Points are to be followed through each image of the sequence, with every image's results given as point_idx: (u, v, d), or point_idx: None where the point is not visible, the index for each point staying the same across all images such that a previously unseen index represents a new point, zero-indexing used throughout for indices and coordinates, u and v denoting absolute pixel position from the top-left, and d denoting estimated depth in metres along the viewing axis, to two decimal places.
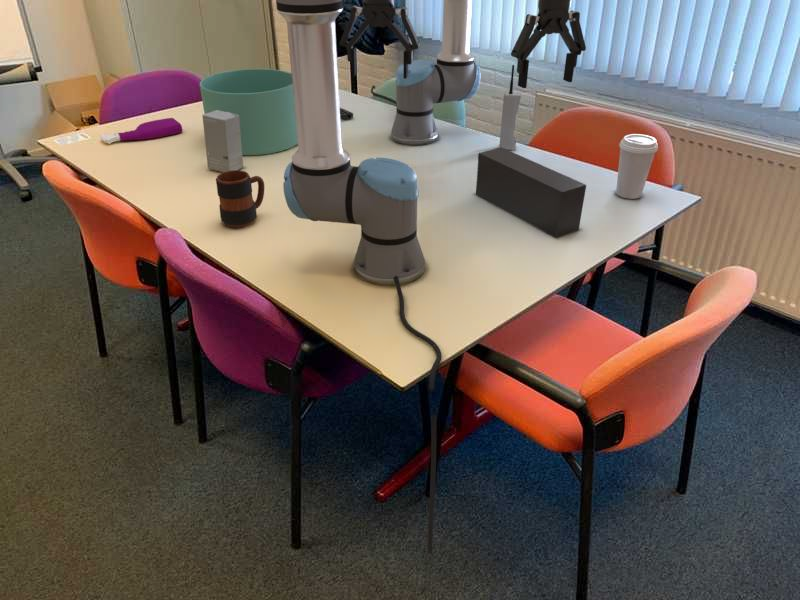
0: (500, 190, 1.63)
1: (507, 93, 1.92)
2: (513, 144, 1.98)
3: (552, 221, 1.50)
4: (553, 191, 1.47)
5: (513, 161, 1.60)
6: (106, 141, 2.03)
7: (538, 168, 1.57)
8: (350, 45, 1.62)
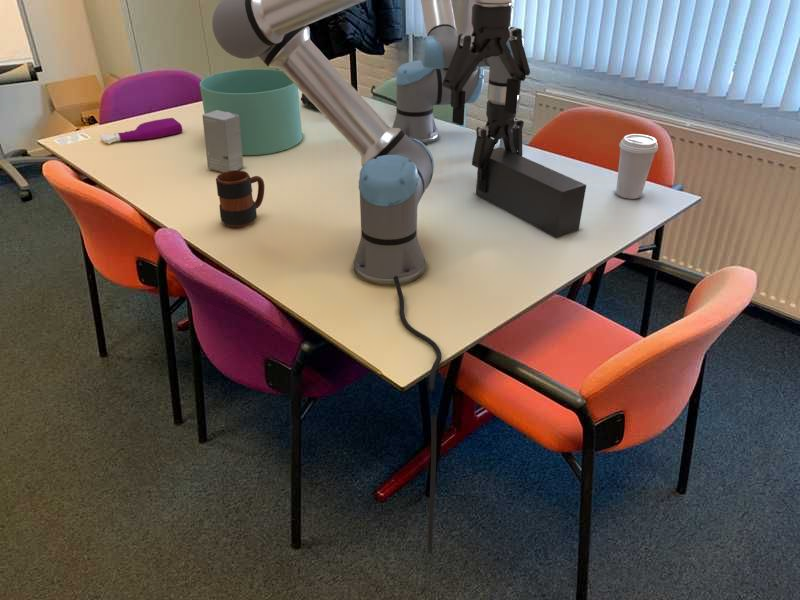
0: (500, 190, 1.63)
1: None
2: None
3: (552, 221, 1.50)
4: (553, 191, 1.47)
5: (513, 161, 1.60)
6: (106, 141, 2.03)
7: (538, 167, 1.57)
8: (461, 86, 1.22)
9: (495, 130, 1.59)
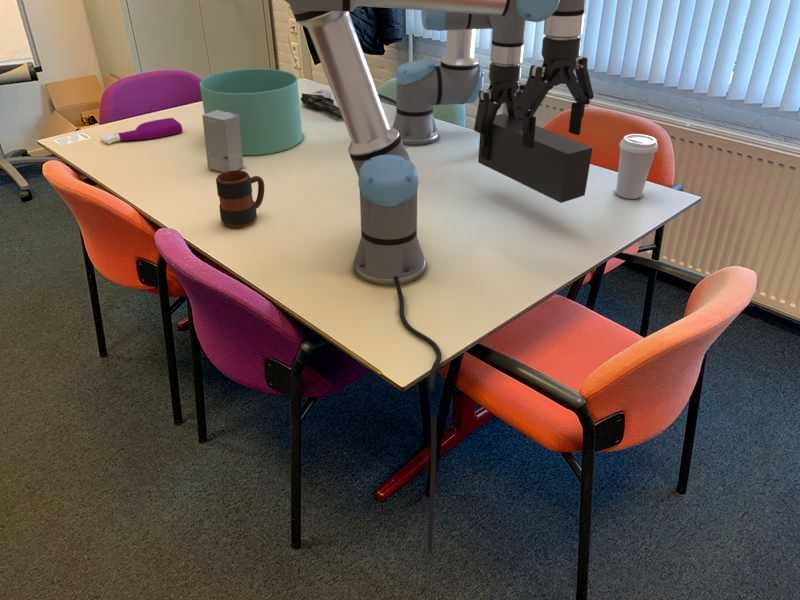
0: (504, 157, 1.58)
1: None
2: None
3: (557, 186, 1.45)
4: (559, 154, 1.42)
5: (517, 126, 1.55)
6: (106, 141, 2.03)
7: (543, 132, 1.52)
8: (533, 113, 1.32)
9: (498, 93, 1.54)
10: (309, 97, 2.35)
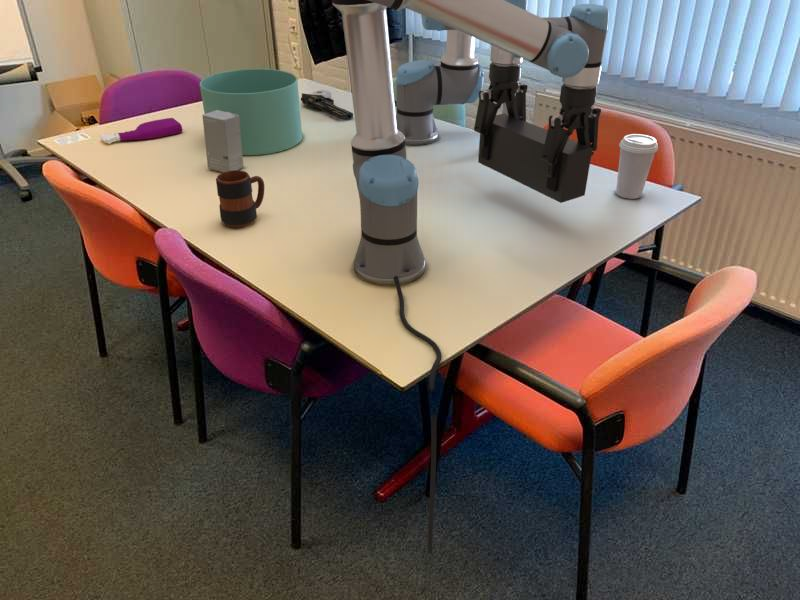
0: (504, 157, 1.58)
1: None
2: None
3: None
4: None
5: (517, 126, 1.55)
6: (106, 141, 2.03)
7: (543, 132, 1.52)
8: (558, 159, 1.42)
9: (498, 93, 1.54)
10: (309, 97, 2.35)
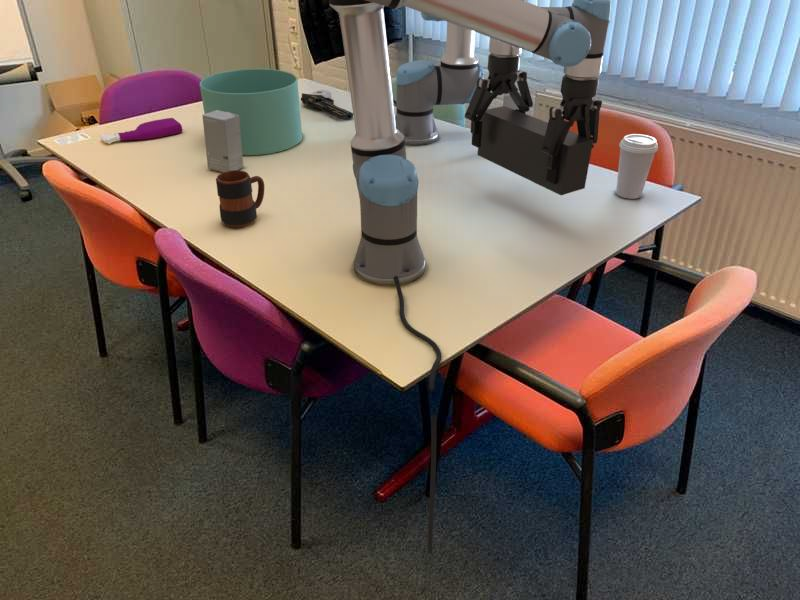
0: (503, 149, 1.57)
1: None
2: None
3: None
4: None
5: (517, 118, 1.54)
6: (106, 141, 2.03)
7: (543, 124, 1.51)
8: (558, 151, 1.41)
9: (496, 84, 1.54)
10: (309, 97, 2.35)
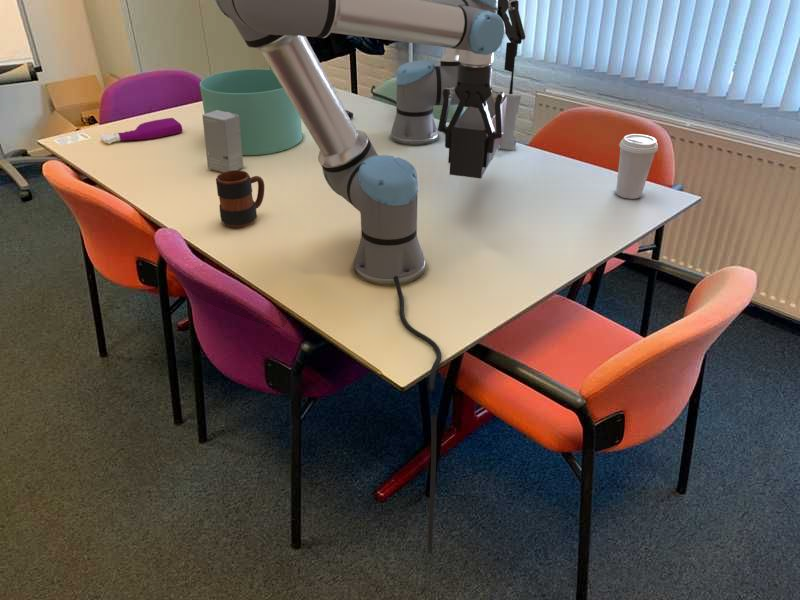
0: None
1: (507, 93, 1.92)
2: (513, 144, 1.98)
3: None
4: None
5: None
6: (106, 141, 2.03)
7: None
8: (449, 131, 1.49)
9: None
10: None
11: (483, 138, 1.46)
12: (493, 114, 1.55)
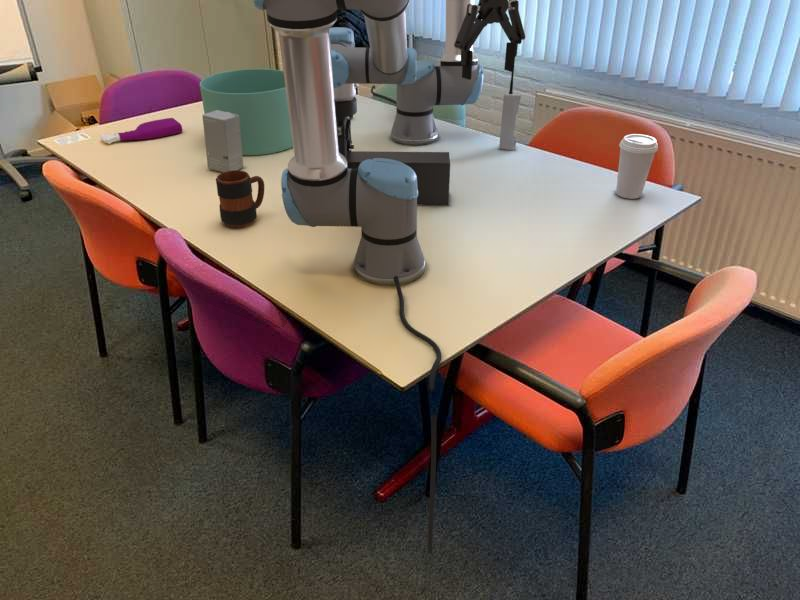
0: None
1: (507, 93, 1.92)
2: (513, 144, 1.98)
3: None
4: None
5: (411, 156, 1.64)
6: (106, 141, 2.03)
7: None
8: None
9: (487, 11, 1.49)
10: None
11: None
12: None
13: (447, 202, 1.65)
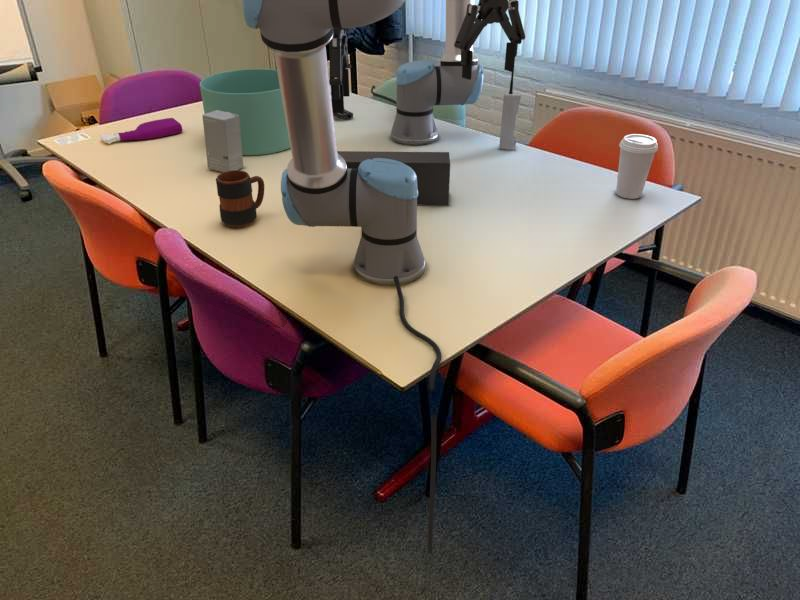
0: None
1: (507, 93, 1.92)
2: (513, 144, 1.98)
3: None
4: None
5: (411, 156, 1.64)
6: (106, 141, 2.03)
7: None
8: None
9: (487, 11, 1.49)
10: None
11: None
12: None
13: (447, 202, 1.65)
